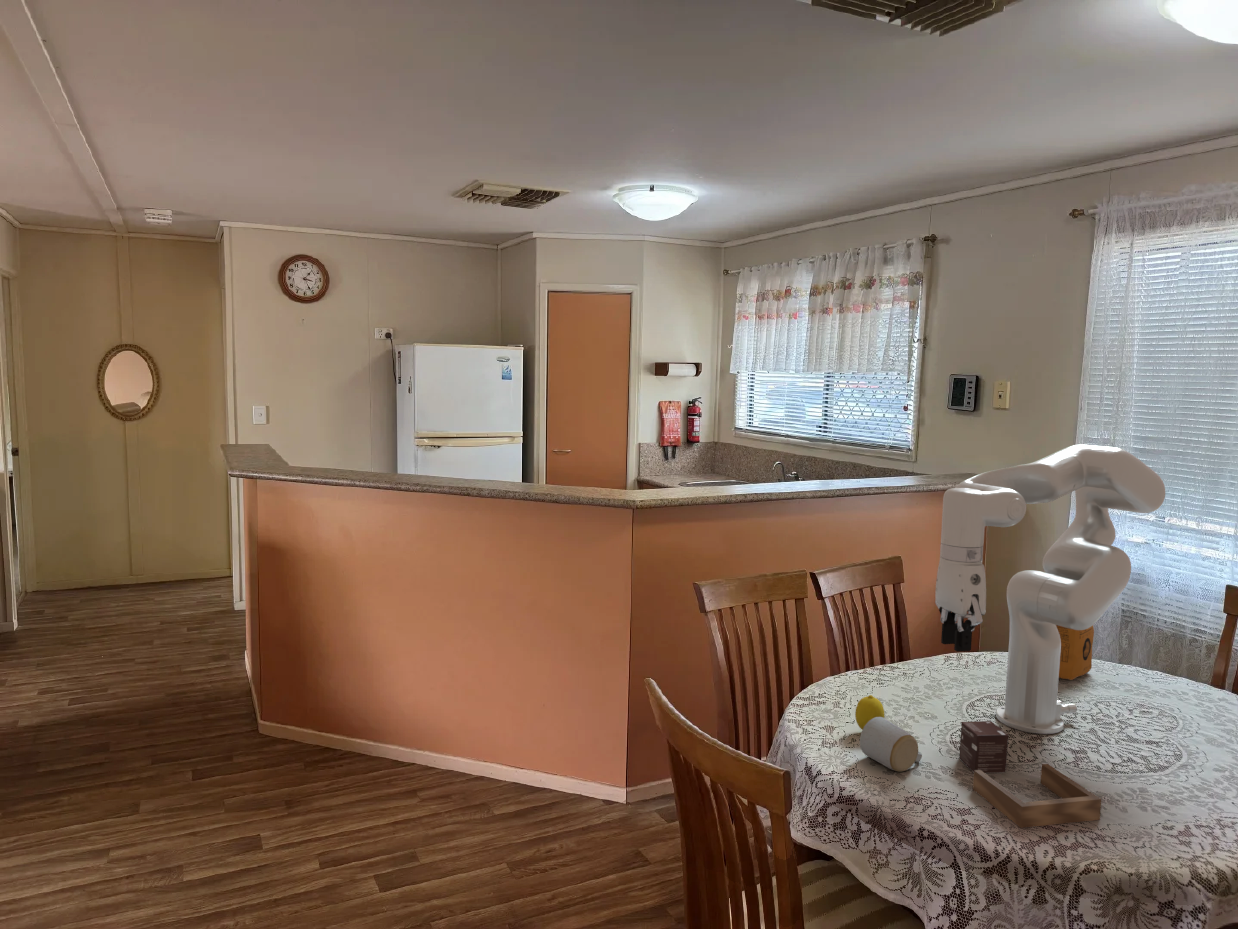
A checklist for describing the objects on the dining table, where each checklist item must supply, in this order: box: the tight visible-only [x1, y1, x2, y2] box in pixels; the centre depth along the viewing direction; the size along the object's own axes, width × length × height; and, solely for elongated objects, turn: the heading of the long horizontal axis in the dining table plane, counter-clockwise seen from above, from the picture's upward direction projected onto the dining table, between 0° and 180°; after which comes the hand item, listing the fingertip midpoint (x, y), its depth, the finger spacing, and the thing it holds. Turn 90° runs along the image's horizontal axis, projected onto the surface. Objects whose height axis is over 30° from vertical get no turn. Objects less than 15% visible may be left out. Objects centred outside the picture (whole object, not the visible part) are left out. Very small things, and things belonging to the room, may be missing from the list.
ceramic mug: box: [859, 717, 923, 773], centre depth 153 cm, size 11×8×8 cm
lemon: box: [854, 694, 886, 731], centre depth 165 cm, size 6×6×8 cm
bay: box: [972, 763, 1102, 829], centre depth 138 cm, size 14×12×4 cm
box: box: [958, 720, 1009, 774], centre depth 152 cm, size 6×6×7 cm
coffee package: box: [1056, 625, 1095, 681], centre depth 200 cm, size 10×12×22 cm
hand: (955, 646), depth 160 cm, fingers open, 3 cm apart
